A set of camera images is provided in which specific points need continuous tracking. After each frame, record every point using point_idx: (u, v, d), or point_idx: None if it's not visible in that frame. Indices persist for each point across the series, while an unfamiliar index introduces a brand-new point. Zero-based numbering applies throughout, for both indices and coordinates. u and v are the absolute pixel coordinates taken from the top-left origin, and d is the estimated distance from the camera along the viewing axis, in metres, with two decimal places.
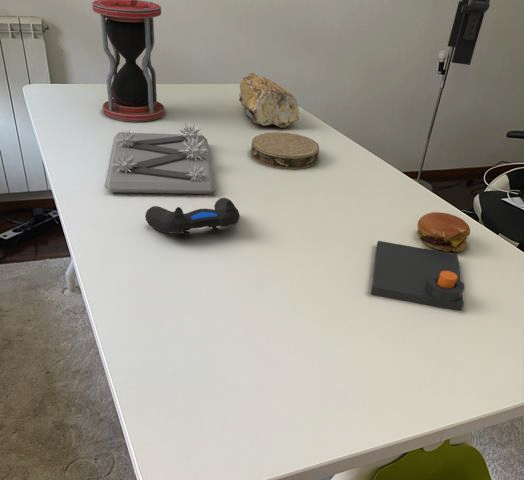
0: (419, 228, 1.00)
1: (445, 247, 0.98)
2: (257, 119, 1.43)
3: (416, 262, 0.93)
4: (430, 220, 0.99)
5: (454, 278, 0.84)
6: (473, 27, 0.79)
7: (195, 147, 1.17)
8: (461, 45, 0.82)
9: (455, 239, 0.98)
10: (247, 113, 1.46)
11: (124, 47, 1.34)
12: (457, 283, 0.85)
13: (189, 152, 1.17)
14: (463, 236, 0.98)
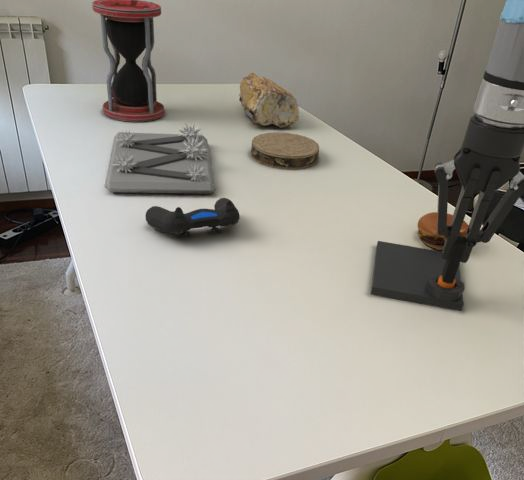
0: (419, 228, 1.00)
1: None
2: (257, 119, 1.43)
3: (416, 262, 0.93)
4: (430, 220, 0.99)
5: (453, 282, 0.84)
6: None
7: (195, 147, 1.17)
8: None
9: None
10: (247, 113, 1.46)
11: (124, 47, 1.34)
12: (457, 283, 0.85)
13: (189, 152, 1.17)
14: (463, 236, 0.98)
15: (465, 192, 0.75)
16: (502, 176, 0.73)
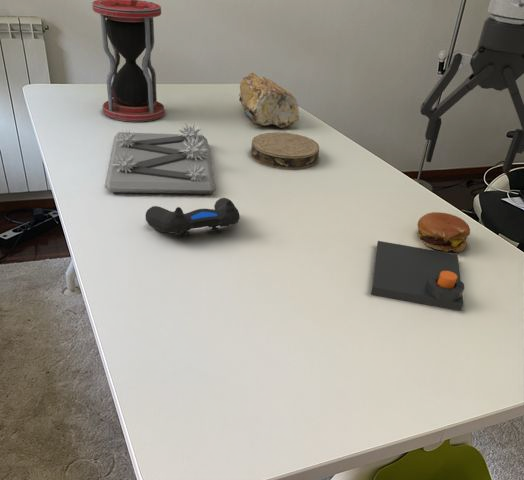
0: (419, 228, 1.00)
1: (445, 247, 0.98)
2: (257, 119, 1.43)
3: (416, 262, 0.93)
4: (430, 220, 0.99)
5: (454, 278, 0.84)
6: None
7: (195, 147, 1.17)
8: None
9: (455, 239, 0.98)
10: (246, 113, 1.46)
11: (124, 47, 1.34)
12: (457, 283, 0.85)
13: (189, 152, 1.17)
14: (463, 236, 0.98)
15: (470, 82, 0.84)
16: (513, 73, 0.83)
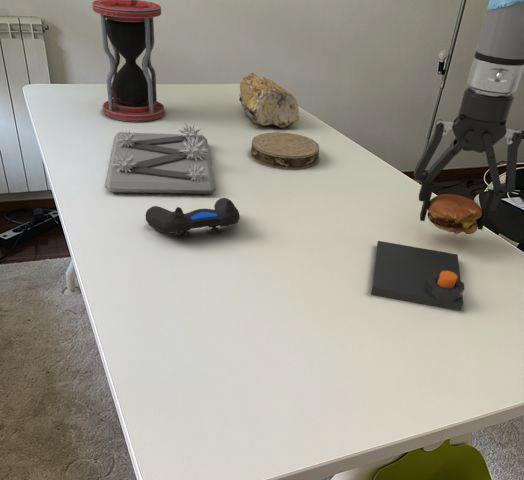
0: (429, 210, 0.98)
1: (456, 229, 0.95)
2: (257, 119, 1.43)
3: (416, 262, 0.93)
4: (441, 201, 0.97)
5: (454, 278, 0.84)
6: None
7: (195, 147, 1.17)
8: None
9: (466, 220, 0.95)
10: (246, 113, 1.46)
11: (124, 47, 1.34)
12: (457, 283, 0.85)
13: (189, 152, 1.17)
14: (475, 217, 0.95)
15: (454, 147, 0.91)
16: (492, 138, 0.89)
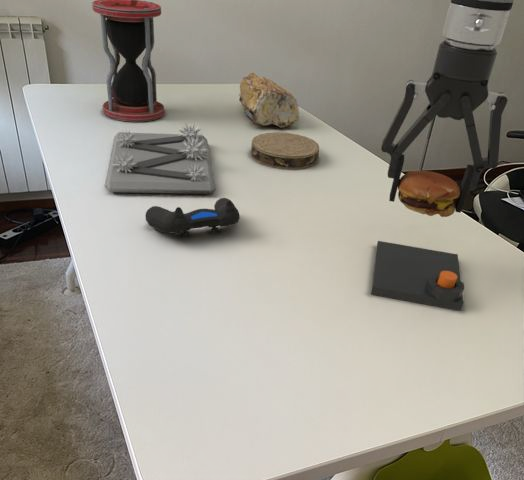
0: (399, 188, 0.84)
1: (430, 210, 0.82)
2: (257, 119, 1.43)
3: (416, 262, 0.93)
4: (413, 178, 0.83)
5: (454, 278, 0.84)
6: None
7: (195, 147, 1.17)
8: None
9: (442, 200, 0.82)
10: (247, 113, 1.46)
11: (124, 47, 1.34)
12: (457, 283, 0.85)
13: (189, 152, 1.17)
14: (451, 197, 0.82)
15: (428, 113, 0.77)
16: (471, 102, 0.76)
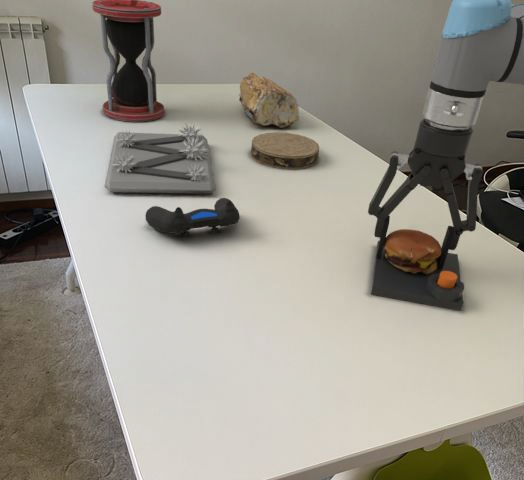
0: (385, 247, 0.91)
1: (413, 269, 0.88)
2: (257, 119, 1.43)
3: None
4: (397, 238, 0.89)
5: (454, 278, 0.84)
6: None
7: (195, 147, 1.17)
8: None
9: (424, 259, 0.88)
10: (247, 113, 1.46)
11: (124, 47, 1.34)
12: (457, 283, 0.85)
13: (189, 152, 1.17)
14: (433, 257, 0.88)
15: (410, 182, 0.83)
16: (450, 173, 0.82)
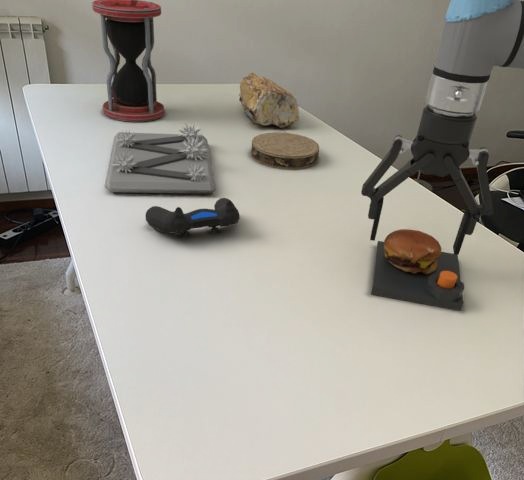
0: (385, 247, 0.91)
1: (413, 269, 0.88)
2: (257, 119, 1.43)
3: None
4: (397, 238, 0.89)
5: (454, 278, 0.84)
6: None
7: (195, 147, 1.17)
8: None
9: (424, 259, 0.88)
10: (247, 113, 1.46)
11: (124, 47, 1.34)
12: (457, 283, 0.85)
13: (189, 152, 1.17)
14: (433, 257, 0.88)
15: (411, 167, 0.82)
16: (454, 161, 0.81)
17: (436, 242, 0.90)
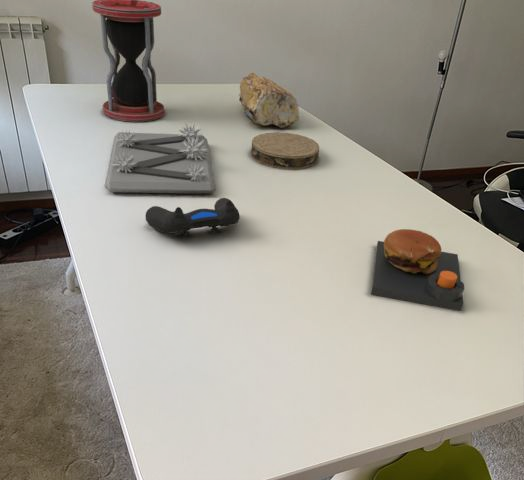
0: (385, 247, 0.91)
1: (413, 269, 0.88)
2: (257, 119, 1.43)
3: None
4: (397, 238, 0.89)
5: (454, 278, 0.84)
6: None
7: (195, 147, 1.17)
8: None
9: (424, 259, 0.88)
10: (247, 113, 1.46)
11: (124, 47, 1.34)
12: (457, 283, 0.85)
13: (189, 152, 1.17)
14: (433, 257, 0.88)
15: None
16: None
17: (436, 242, 0.90)
